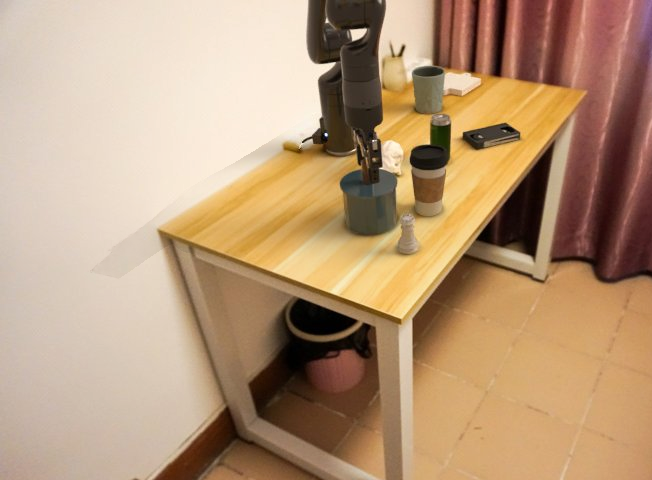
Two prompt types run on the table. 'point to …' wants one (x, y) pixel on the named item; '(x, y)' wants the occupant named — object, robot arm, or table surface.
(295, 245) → the table surface
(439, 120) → the beer can
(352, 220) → the canister
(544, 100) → the table surface
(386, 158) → the white figurine
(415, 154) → the coffee cup
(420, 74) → the grey green tumbler
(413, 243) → the rook chess piece
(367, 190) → the lid
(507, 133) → the vhs tape
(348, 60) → the robot arm
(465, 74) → the mounting plate
